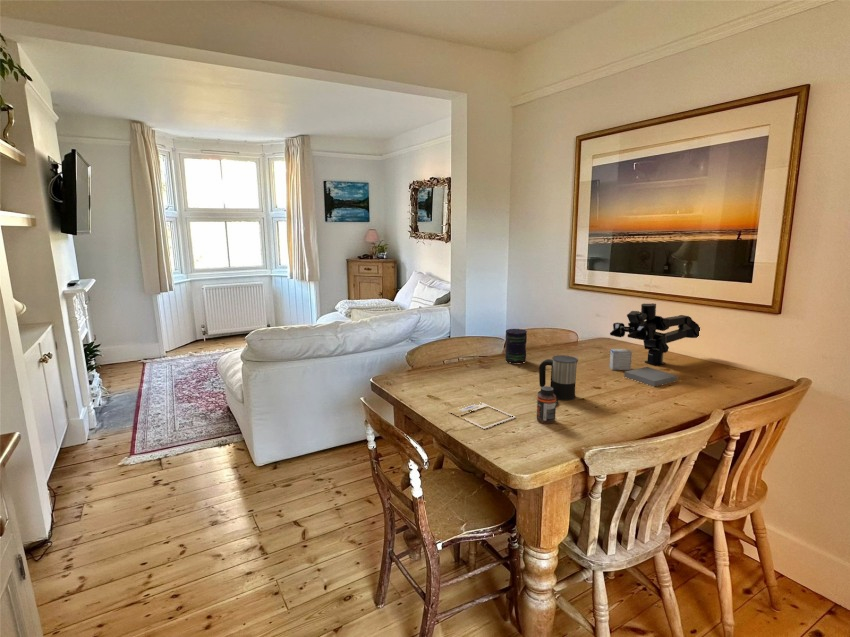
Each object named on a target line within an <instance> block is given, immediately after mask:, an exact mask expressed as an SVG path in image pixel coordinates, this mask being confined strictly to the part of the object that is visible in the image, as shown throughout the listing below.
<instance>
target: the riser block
mask: <svg viewBox="0 0 850 637" xmlns="http://www.w3.org/2000/svg"><path fill="white" fill-rule="evenodd" d="M623 377H624V378H625V377H627V378H626V379H628V378H629V379H628V380H631V379H633V380H632V381H634V380H636V381H635V382H637V381H639V382H638V383H640V382H642V383H641V384H643V383H644V384H643V385H646V384H648V385H647V386H649V385H651V386H650V387H652V386H654V387H653V388H656V387H655V386H657V387H659V386H658V385H661V386H663V385H662V384H665V385H667V384H666V383H669V384H671V383H670V382H673V383H675V382H674V381H678V375H676V374H673V373H669V372H665V371H663V370H660V369H656V368H652V367H649V366H646V367H640V368H635V369H630V370H624V376H623Z"/></svg>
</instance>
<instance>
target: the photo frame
mask: <svg viewBox="0 0 850 637" xmlns="http://www.w3.org/2000/svg"><path fill="white" fill-rule="evenodd" d="M479 402H480V403H481V401H479ZM486 406H489V407H491V408H493V409H496V410H498V411H500V412H502V413H504V414H503V415H505V414H506V415H505V416H507V415H509V416H511V417H509V416H508V417H509V418H506V419H503V420H499V421H497V422H495V423H492V424H489V425H486V426H483V425H480V424H479V423H476V422H474V421H472V420H470V419H469V418H466V417H464V418H465V419H466V420H468V421H470V422H472V423H474V424H476V425H477V426H479V427H481V428H483V429H485V430H487V429H486V428H488V429H490V428H489V427H491V426H494V425H496V426H498V425H497V424H499V425H501V424H500V423H502V424H504V423H507V422H509V421H508V420H510V421H512V420H514V418H515V419H516V418H517V417H516V416H515V415H512V414H511V413H507V412H506V411H503V410H501V409H498V408H496V407H493V406H491V405H489V404H486V403H484V402H482V405H480V404H479V405H475V404H474V405H471V406H468V407H465V408H462V409H459V410H460V411H462V412H465V411H468V410H472V409H473V410H477V409H480V408H483V407H486ZM477 407H478V408H477ZM491 408H490V409H491ZM493 409H492V410H493ZM473 410H472V411H473ZM498 411H497V412H498ZM470 412H471V411H470ZM500 412H499V413H500ZM467 413H468V412H467ZM502 413H501V414H502ZM512 416H513V417H512ZM511 419H512V420H511ZM506 421H507V422H506ZM503 422H504V423H503ZM477 426H476V427H477ZM479 427H478V428H479ZM494 427H495V426H494ZM481 428H480V429H481ZM491 428H492V427H491ZM483 429H482V430H483Z"/></svg>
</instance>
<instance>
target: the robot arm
mask: <svg viewBox="0 0 850 637" xmlns="http://www.w3.org/2000/svg"><path fill="white" fill-rule="evenodd" d="M640 306H641V307H640V308H641V309H640V311H638V310H631V311H630V312H628V313H627V314H626V317H627V319H628V321H629V322H628V323H627V326H626V325H625V324H624V323H623V322H613V324H612V327H613V328H612V329H613V330H612V331H610V332H609V336H612V337H617V338H624V337H625V336H626V333H628V334H627V338H629V339H636V340H640V341H641V340H642V341H643V346H644V349H645V350H648V353H647V359H646V360H645V361H644V363H646V364H650V365H653V366H656V365H658V366H662V365H665V364H666V362H664V354H666V353H667V352H669V345H668V344H669V343H672V342H675V341H679V340H682V339H686V338H687V339H688V338H689V339H697V337H698V336H699V331H700V328H701V326H700V325H699V323H697V322H696V321H694V320H693V319H692V317H691V316H689V315H684V314H680V315H676V316H675V315H674V316H669V317H662V316H660V315H657V314H656V312H657V304H656V303H642V304H641V305H640ZM699 326H700V327H699ZM670 327H677V328H678V329H675V330H671V331H667V330H669V329H670ZM658 331H661V332H658ZM664 331H667V332H665V333H664ZM699 337H700V336H699ZM699 337H698V338H699Z"/></svg>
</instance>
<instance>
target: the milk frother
mask: <svg viewBox="0 0 850 637" xmlns="http://www.w3.org/2000/svg"><path fill="white" fill-rule="evenodd" d="M578 363H579V359H578V358H577V357H575V356H572V355H561V354H560V355H553V356H552V359H550V358H549V359H544V360H543V361H541V363H540V365H539V366H538V374H539V375H538V377H539V379H538V380H539V383H538V384H539V386H540V388H541V387H543V386H546V383H547V381H546V377H547V376H546V375H547V374H546V370H547V369H546V367H547V366H551V373H550V386H549V387H552V388H553V394H555V396H556V405H557V404H558V402H559V400H561V401H570V400H574V399H575V398H576V396H577V395H576V379H577V367H578ZM540 392H541V390H538V392H537V395H538V394H539V393H540Z"/></svg>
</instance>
